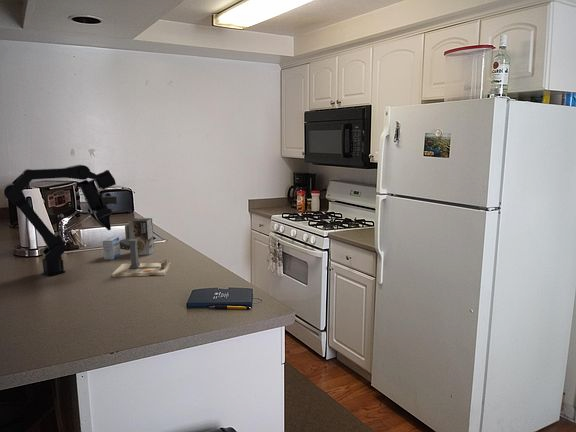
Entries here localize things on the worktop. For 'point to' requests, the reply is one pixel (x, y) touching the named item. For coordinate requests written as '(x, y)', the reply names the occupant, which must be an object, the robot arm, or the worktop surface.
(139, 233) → the coffee box
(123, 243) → the media streaming box
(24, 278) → the worktop surface
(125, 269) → the switch panel
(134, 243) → the dark grey tall block
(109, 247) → the medicine box
